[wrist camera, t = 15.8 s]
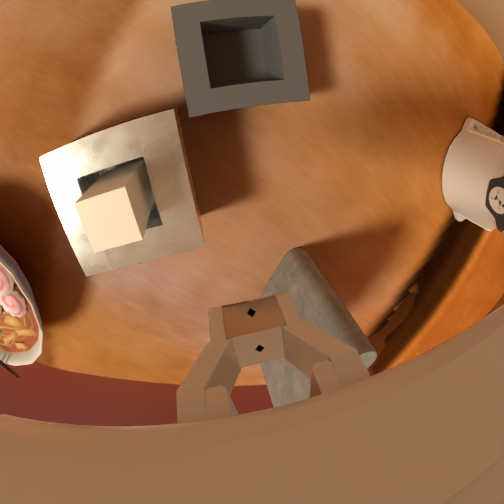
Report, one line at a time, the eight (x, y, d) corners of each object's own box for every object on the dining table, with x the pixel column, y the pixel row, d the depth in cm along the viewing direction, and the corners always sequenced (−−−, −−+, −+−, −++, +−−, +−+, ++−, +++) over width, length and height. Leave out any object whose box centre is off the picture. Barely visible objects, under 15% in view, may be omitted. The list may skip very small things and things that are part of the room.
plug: (146, 156, 25) (125, 186, 16) (155, 193, 27) (142, 239, 18) (109, 168, 24) (74, 203, 16) (120, 203, 26) (94, 252, 18)
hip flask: (265, 335, 42) (307, 450, 26) (241, 333, 41) (277, 455, 24) (311, 250, 36) (397, 371, 19) (284, 243, 34) (365, 375, 18)
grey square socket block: (273, 14, 20) (294, -3, 15) (286, 99, 25) (310, 100, 20) (174, 25, 19) (170, 6, 14) (189, 114, 24) (189, 117, 19)
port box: (177, 107, 24) (173, 108, 18) (200, 215, 30) (205, 247, 24) (69, 143, 22) (38, 157, 16) (102, 241, 29) (86, 276, 23)
